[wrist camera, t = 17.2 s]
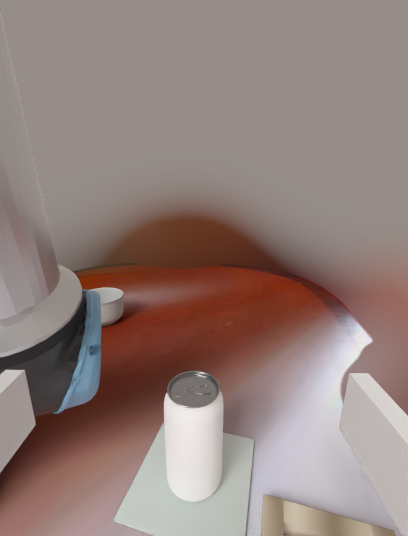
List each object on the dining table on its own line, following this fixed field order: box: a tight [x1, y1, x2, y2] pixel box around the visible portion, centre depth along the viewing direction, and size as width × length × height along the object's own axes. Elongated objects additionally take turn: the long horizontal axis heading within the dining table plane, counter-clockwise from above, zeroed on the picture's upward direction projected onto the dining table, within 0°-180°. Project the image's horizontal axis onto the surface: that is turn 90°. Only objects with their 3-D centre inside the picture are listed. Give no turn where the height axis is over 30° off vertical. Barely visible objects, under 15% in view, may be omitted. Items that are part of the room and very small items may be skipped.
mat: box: [114, 422, 254, 536], centre depth 31 cm, size 13×13×1 cm
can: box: [164, 371, 223, 502], centre depth 29 cm, size 6×6×12 cm
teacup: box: [89, 288, 124, 326], centre depth 69 cm, size 14×11×8 cm
